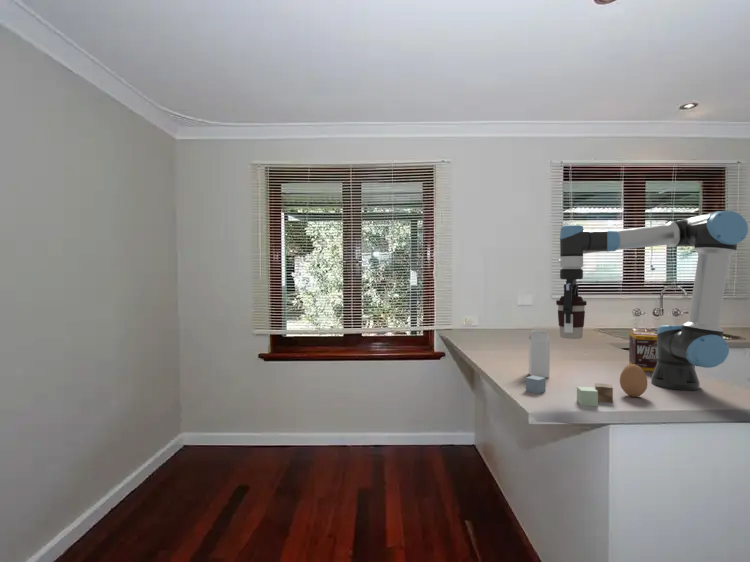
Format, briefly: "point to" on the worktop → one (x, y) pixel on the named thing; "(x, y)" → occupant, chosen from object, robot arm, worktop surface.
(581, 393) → the sage painted cube
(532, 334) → the milk carton
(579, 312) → the coffee cup
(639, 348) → the supplement box
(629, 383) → the egg
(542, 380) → the slate painted cube
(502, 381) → the worktop surface
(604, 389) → the walnut cube
